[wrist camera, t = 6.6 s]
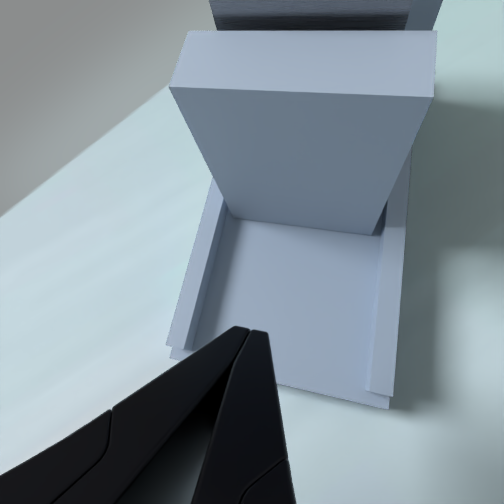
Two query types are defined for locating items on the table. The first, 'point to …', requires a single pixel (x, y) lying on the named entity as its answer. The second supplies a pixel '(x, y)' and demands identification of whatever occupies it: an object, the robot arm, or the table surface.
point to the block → (310, 15)
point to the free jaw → (306, 119)
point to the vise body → (304, 289)
